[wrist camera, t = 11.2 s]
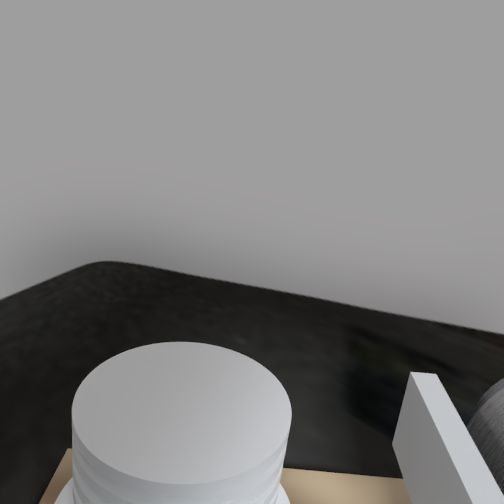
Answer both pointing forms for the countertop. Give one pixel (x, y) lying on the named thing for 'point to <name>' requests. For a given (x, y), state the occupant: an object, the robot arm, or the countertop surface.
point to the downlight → (178, 429)
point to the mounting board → (292, 486)
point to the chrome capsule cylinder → (490, 430)
